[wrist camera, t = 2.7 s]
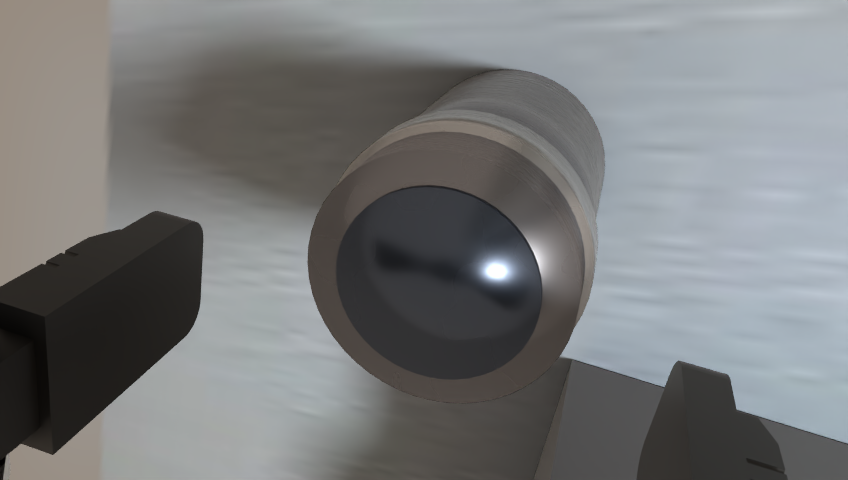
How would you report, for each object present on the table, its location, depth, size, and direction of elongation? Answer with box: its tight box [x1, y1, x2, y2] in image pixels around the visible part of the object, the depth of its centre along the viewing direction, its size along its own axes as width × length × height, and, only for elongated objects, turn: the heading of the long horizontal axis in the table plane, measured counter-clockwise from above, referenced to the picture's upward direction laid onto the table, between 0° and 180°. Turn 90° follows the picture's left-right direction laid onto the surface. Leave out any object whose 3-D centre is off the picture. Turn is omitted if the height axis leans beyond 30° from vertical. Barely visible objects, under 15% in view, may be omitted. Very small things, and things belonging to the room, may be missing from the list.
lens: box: [308, 70, 605, 403], centre depth 16 cm, size 5×5×7 cm
